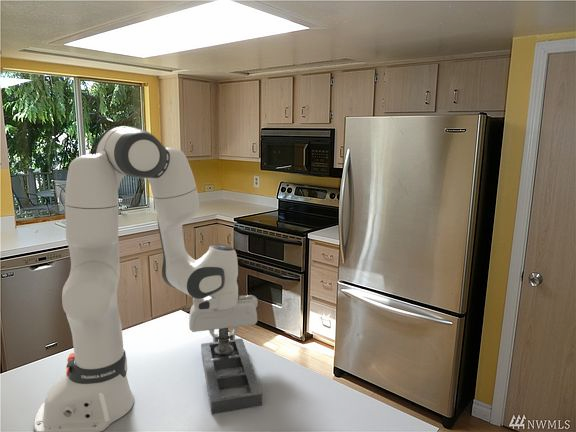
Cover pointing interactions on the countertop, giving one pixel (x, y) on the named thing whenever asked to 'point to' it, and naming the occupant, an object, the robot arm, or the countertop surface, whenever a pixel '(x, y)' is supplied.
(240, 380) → the grey rectangular frame piece
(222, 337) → the grey stone finial
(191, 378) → the countertop surface
